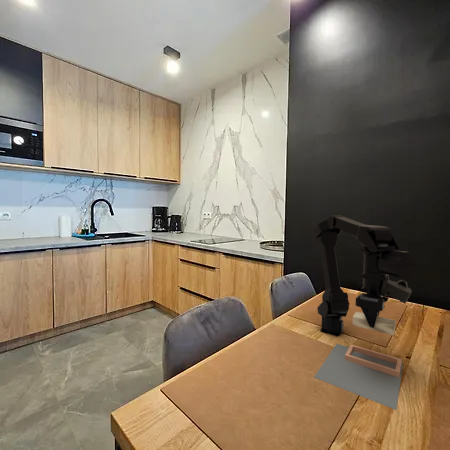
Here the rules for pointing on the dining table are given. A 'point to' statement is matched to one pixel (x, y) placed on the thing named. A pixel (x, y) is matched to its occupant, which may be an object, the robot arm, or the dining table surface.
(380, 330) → the tan oblong block
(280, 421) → the dining table surface
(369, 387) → the mat
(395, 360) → the frame
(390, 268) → the robot arm
